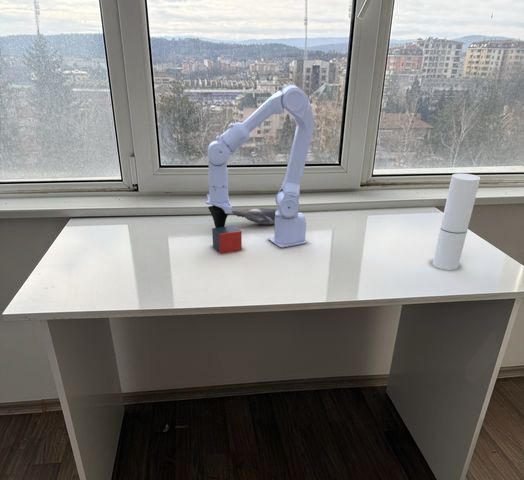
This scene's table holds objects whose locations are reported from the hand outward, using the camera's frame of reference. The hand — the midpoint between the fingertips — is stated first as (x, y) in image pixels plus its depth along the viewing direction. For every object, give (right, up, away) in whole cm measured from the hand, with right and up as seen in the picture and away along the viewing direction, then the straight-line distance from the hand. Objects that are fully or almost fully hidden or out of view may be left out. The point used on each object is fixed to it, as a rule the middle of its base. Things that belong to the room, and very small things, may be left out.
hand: (219, 229), depth 153 cm
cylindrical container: (+67, -13, -9) cm, 68 cm away
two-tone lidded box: (+1, -2, -1) cm, 3 cm away
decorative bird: (+10, +6, +18) cm, 22 cm away
